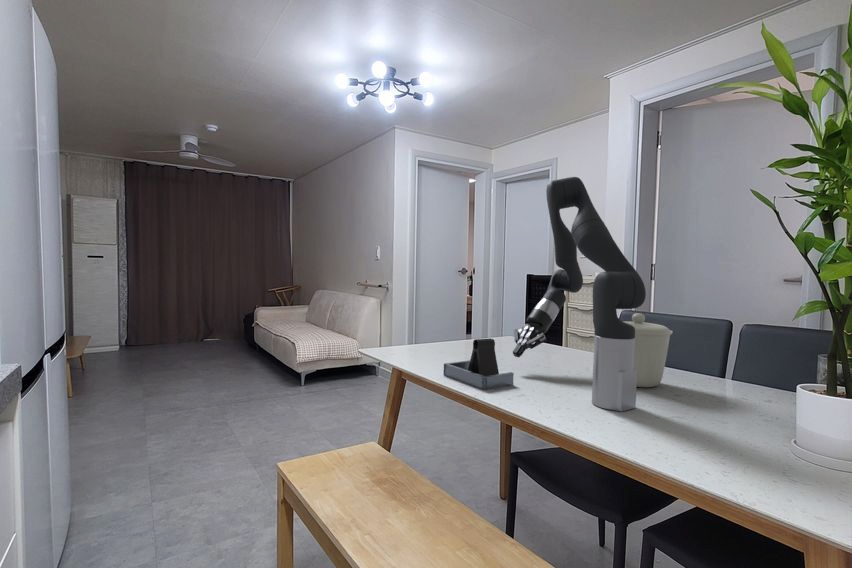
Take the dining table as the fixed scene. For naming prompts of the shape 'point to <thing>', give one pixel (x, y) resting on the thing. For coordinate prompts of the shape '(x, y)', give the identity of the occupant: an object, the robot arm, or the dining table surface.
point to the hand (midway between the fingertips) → (515, 355)
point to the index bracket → (476, 376)
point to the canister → (649, 350)
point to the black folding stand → (483, 357)
